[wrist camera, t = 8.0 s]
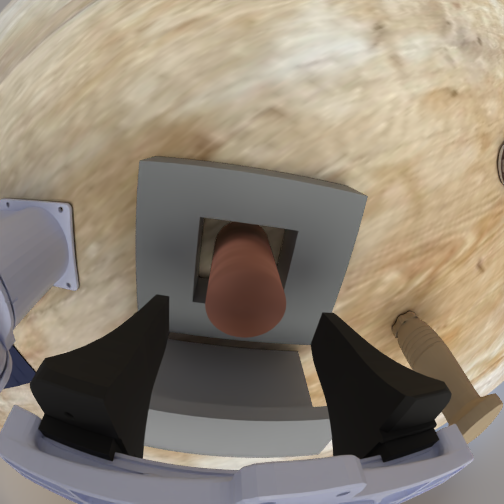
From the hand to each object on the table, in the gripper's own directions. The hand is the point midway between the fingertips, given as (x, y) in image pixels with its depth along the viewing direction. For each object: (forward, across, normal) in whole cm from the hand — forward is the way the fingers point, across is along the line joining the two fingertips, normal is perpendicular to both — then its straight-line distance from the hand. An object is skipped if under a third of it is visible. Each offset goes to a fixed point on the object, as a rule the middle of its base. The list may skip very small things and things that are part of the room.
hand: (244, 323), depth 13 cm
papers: (+10, +44, +20) cm, 49 cm away
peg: (+9, 0, 0) cm, 9 cm away
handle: (+9, -18, +6) cm, 21 cm away
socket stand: (+9, 0, +3) cm, 9 cm away
